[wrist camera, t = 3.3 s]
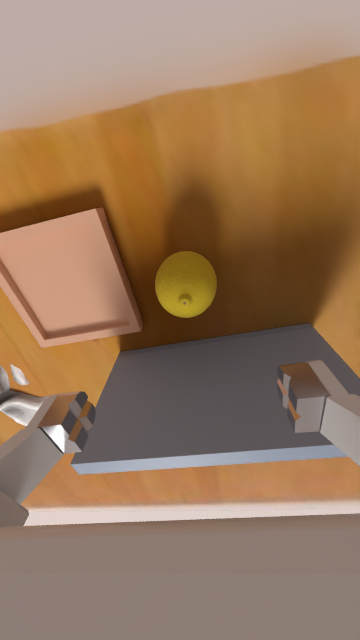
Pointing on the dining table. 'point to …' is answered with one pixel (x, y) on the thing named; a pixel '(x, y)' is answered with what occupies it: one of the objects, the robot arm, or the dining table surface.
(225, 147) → the dining table surface
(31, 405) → the cloth
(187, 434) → the screen
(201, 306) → the lemon
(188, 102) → the dining table surface
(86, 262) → the dish
